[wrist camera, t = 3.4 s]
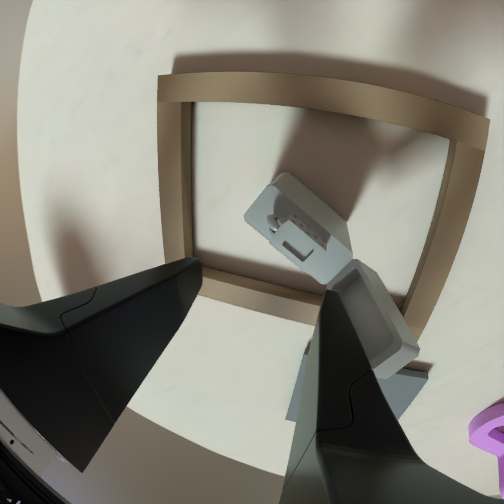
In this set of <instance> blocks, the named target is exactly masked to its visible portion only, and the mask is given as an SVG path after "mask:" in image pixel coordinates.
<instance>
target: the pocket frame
mask: <svg viewBox="0 0 504 504" xmlns="http://www.w3.org/2000/svg"><path fill="white" fill-rule="evenodd" d="M191 102H239V103H256V104H270V105H281V106H291V107H300V108H308V109H316V110H323V111H330V112H336V113H342V114H348V115H354V116H359V117H364V118H369V119H374V120H379V121H384V122H388V123H393V124H397V125H401V126H405V127H409V128H413V129H417V130H421V131H424V132H428V133H431V134H435V135H438V136H442V137H445V138H448V139H451V141H450V147H449V153H448V158H447V163H446V168H445V172H444V177H443V181H442V186H441V190H440V194H439V198H438V202H437V206H436V209H435V213H434V217H433V220H432V224H431V227H430V230H429V234H428V237H427V240H426V243H425V247H424V250H423V253H422V256H421V259H420V261H419V264H418V267H417V270H416V273H415V276H414V278H413V281H412V284H411V286H410V289H409V291H408V294H407V297H406V299H405V302H404V304H403V306H402V309H401V311H400V313H401V315H402V316H403V318H404V320H405V322H406V324H407V325H408V327H409V329H410V331H411V333H412V335H413V336H414V338H415V340H416V342H417V341H418V339H419V337H420V335H421V334H422V332H423V330H424V328H425V326H426V324H427V322H428V320H429V317H430V315H431V313H432V311H433V309H434V307H435V305H436V303H437V300H438V298H439V296H440V294H441V291H442V289H443V287H444V284H445V282H446V279H447V277H448V275H449V272H450V270H451V267H452V264H453V262H454V259H455V256H456V254H457V251H458V248H459V245H460V242H461V240H462V237H463V234H464V231H465V227H466V224H467V221H468V218H469V215H470V211H471V208H472V204H473V201H474V197H475V193H476V189H477V185H478V181H479V177H480V173H481V168H482V163H483V159H484V154H485V148H486V143H487V137H488V130H489V124H490V119H488V118H485V117H483V116H480V115H477V114H475V113H472V112H469V111H466V110H464V109H461V108H458V107H455V106H452V105H449V104H446V103H442V102H439V101H436V100H432V99H429V98H425V97H422V96H418V95H414V94H410V93H406V92H402V91H398V90H394V89H389V88H385V87H380V86H375V85H370V84H364V83H359V82H353V81H347V80H340V79H333V78H326V77H317V76H308V75H297V74H285V73H268V72H199V73H182V74H169V75H159V76H158V90H157V142H158V173H159V193H160V209H161V223H162V235H163V246H164V256H165V264H167V263H170V262H173V261H177V260H180V259H183V258H186V257H193V243H192V215H191ZM202 273H203V283H202V287H201V289H200V291H199V293H198V295H200V296H204V297H207V298H211V299H214V300H218V301H221V302H225V303H228V304H232V305H235V306H239V307H243V308H246V309H250V310H254V311H257V312H261V313H265V314H269V315H273V316H276V317H280V318H284V319H288V320H292V321H296V322H300V323H304V324H308V325H313V326H315V325H316V321H317V317H318V313H319V309H320V306H321V302H322V298H323V296H321V295H317V294H312V293H308V292H304V291H299V290H295V289H291V288H287V287H283V286H279V285H274V284H270V283H266V282H262V281H258V280H254V279H250V278H246V277H242V276H238V275H234V274H230V273H226V272H222V271H218V270H214V269H210V268H206V267H202Z"/></svg>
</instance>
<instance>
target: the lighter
mask: <svg viewBox="0 0 504 504" xmlns="http://www.w3.org/2000/svg"><path fill="white" fill-rule="evenodd" d="M244 219H245V222H247V223H248V224H249V225H250V226H251V227H253V228H254V229H255V230H256V231H258V232H259V233H260V234H261V235H262V236H264V237H265V238H266V239H267V240H269V241H270V242H269V243H270V244H271V245H272V246H273V247H275V248H276V249H277V250H278V251H279V252H281V253H282V254H283V255H284V256H285V257H287V258H288V259H289V260H290V261H291V262H293V263H294V264H295V265H296V266H298V267H299V268H300V269H301V270H302V271H304V272H305V273H308V274H310V275H311V276H312V277H313V278H314V279H316V280H317V281H318V282H319V283H320V284H327V286H326V289H329V290H333V291H337V292H339V294H340V296H341V298H342V300H343V303H344V305H345V307H346V309H347V311H348V313H349V316H350V318H351V320H352V322H353V325H354V327H355V329H356V331H357V334H358V336H359V338H360V340H361V343H362V345H363V347H364V350H365V352H366V354H367V357H368V359H369V361H370V364H371V366H372V370H373V371H374V373H375V376H376V378H381V379H387V378H389V377H390V376H391V375H393V374H394V373H396V372H397V371H398V370H400V369H401V368H403V367H404V366H405V365H407V364H408V363H409V362H411V361H412V360H413V359H415V358H416V357H417V356H418V354H419V350H420V348H419V346H418V344H417V342H416V340H415V338H414V336H413V335H412V333H411V331H410V329H409V327H408V325H407V324H406V322H405V320H404V318H403V316H402V315H401V313H400V311H399V309H398V308H397V306H396V304H395V302H394V301H393V299H392V297H391V296H390V294H389V292H388V290H387V289H386V287H385V285H384V284H383V282H382V280H381V279H380V277H379V276H378V274H377V272H375V271H374V270H372V269H371V268H370V267H368V266H367V265H365V264H364V263H362V262H361V261H359V260H358V259H353V253H352V248H351V243H350V238H349V233H348V228H347V223H346V221H345V220H344V219H343V218H342V217H341V216H340V215H338V214H337V213H336V212H335V211H334V210H333V209H332V208H331V207H329V206H328V205H327V204H326V203H325V202H324V201H323V200H321V199H320V198H319V197H318V196H317V195H316V194H314V193H313V192H312V191H311V190H310V189H308V188H307V187H306V186H305V185H304V184H303V183H301V182H300V181H299V180H298V179H297V178H295V177H294V176H293V175H292V174H290V173H289V172H288V171H287V172H282V173H281V174H280V175H279V176H278V177H277V178H275V179H274V180H273V181H272V182H271V183H270V184H269V185H268V186H266V188H265V189H264V190H263V191H262V193H261V194H260V195H259V196H258V198H257V199H256V200H255V201H254V203H253V204H252V205H251V206H250V208H249V209H248V210H247V211H246V213H245V214H244ZM326 289H325V290H326Z"/></svg>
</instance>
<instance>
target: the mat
mask: <svg viewBox="0 0 504 504" xmlns="http://www.w3.org/2000/svg"><path fill="white" fill-rule="evenodd" d="M308 352H309V349H308V348H305V352H304V355H303V359H302V362H301V366H300V370H299V374H298V377H297V381H296V384H295V388H294V391H293V395H292V398H291V402H290V405H289V408H288V412H287V415H286V418H285V419H286V420H290V421H294V422H296V420H297V415H298V409H299V403H300V397H301V391H302V385H303V379H304V372H305V366H306V360H307V356H308ZM377 380H378V383H379V385H380V387H381V389H382V392H383V394H384V396H385V398H386V400H387V402H388V403H389V405H390V407H391V409H392V411H393V413H394V415H395V416H396V418H397V420H398V419H399V418H400V417H401V415H402V414H403V413H404V412H405V410H406V409H407V408H408V406H409V405H410V404H411V402H412V401H413V400H414V398H415V397H416V396H417V394H418V393H419V392H420V390H421V389H422V387H423V386H424V385H425V383H426V382H427V380H428V373H427V372H420V371H414V370H408V369H403V368H401V369H400V370H398V371H397V372H396V373H394V374H393V375H391V376H390V377H389V378H387V379H381V378H377Z"/></svg>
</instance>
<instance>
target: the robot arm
mask: <svg viewBox="0 0 504 504" xmlns="http://www.w3.org/2000/svg"><path fill="white" fill-rule="evenodd" d="M202 283H203V273H202V261H201V260H200V259H198V258H194V257H186V258H183V259H180V260H177V261H173V262H170V263H167V264H164V265H161V266H158V267H155V268H152V269H148V270H145V271H142V272H139V273H136V274H133V275H130V276H127V277H124V278H121V279H118V280H115V281H112V282H109V283H105V284H102V285H99V286H98V287H93V288H90V289H87V290H84V291H81V292H78V293H74V294H71V295H67V296H64V297H60V298H56V299H52V300H49V301H45V302H41V303H37V304H33V305H30V306H25V307H13V306H8V305H5V304H2V303H0V504H16V503H17V502H18V501H21V502H20V504H71V503H70V502H69V501H68V500H66V499H65V498H64V497H63V496H61V495H60V494H59V493H58V492H57V491H55V490H54V489H53V488H52V487H51V486H49V485H48V484H47V483H46V482H45V481H44V480H43V479H42V478H41V477H40V476H41V475H42V474H43V472H44V471H45V470H46V469H47V467H48V466H49V465H50V463H51V462H52V461H53V460H54V459H55V457H56V456H57V455H59V456H60V457H61V458H63V459H64V460H65V461H66V462H68V463H69V464H70V465H71V466H73V467H74V468H75V469H77V470H78V471H79V472H81V473H82V472H83V471H84V470H85V469H86V467H87V466H88V464H89V463H90V461H91V459H92V458H93V456H94V455H95V453H96V452H97V450H98V449H99V447H100V446H101V444H102V443H103V441H104V439H105V438H106V436H107V435H108V433H109V432H110V430H111V429H112V427H113V426H114V424H115V422H116V421H117V419H118V418H119V416H120V415H121V413H122V412H123V410H124V409H125V407H126V406H127V404H128V403H129V401H130V400H131V398H132V397H133V395H134V394H135V392H136V391H137V389H138V388H139V386H140V385H141V383H142V382H143V381H144V379H145V378H146V376H147V375H148V373H149V372H150V370H151V369H152V367H153V366H154V364H155V363H156V361H157V360H158V358H159V357H160V355H161V354H162V352H163V351H164V349H165V348H166V347H167V345H168V344H169V342H170V341H171V339H172V338H173V336H174V335H175V333H176V332H177V330H178V329H179V327H180V326H181V324H182V323H183V321H184V319H185V317H186V316H187V314H188V312H189V310H190V308H191V306H192V304H193V302H194V300H195V298H196V297H197V295H198V293H199V291H200V289H201V287H202ZM279 504H504V499H497V498H492V497H488V496H486V495H483V494H481V493H479V492H477V491H475V490H473V489H471V488H469V487H467V486H465V485H463V484H461V483H459V482H457V481H456V480H454V479H452V478H450V477H448V476H446V475H444V474H443V473H441V472H439V471H437V470H436V469H434V468H432V467H430V466H429V465H427V464H426V463H425V462H424V461H422V459H421V458H420V457H419V456H418V455H417V454H416V452H415V451H414V449H413V447H412V446H411V444H410V442H409V440H408V438H407V437H406V435H405V433H404V431H403V429H402V427H401V426H400V424H399V422H398V420H397V418H396V416H395V415H394V413H393V411H392V409H391V407H390V405H389V403H388V402H387V400H386V398H385V396H384V394H383V392H382V389H381V387H380V385H379V383H378V380H377V378H376V376H375V373H374V371H373V370H372V366H371V364H370V361H369V359H368V357H367V354H366V352H365V350H364V347H363V345H362V343H361V340H360V338H359V336H358V334H357V331H356V329H355V327H354V325H353V322H352V320H351V318H350V316H349V313H348V311H347V309H346V307H345V305H344V303H343V300H342V298H341V296H340V294H339V292H337V291H333V290H329V289H326V290H325V291H324V294H323V298H322V302H321V306H320V309H319V313H318V317H317V321H316V325H315V329H314V333H313V337H312V341H311V345H310V348H309V352H308V356H307V360H306V366H305V372H304V379H303V385H302V391H301V397H300V403H299V409H298V415H297V420H296V426H295V431H294V436H293V442H292V447H291V452H290V456H289V461H288V466H287V471H286V475H285V480H284V484H283V489H282V493H281V497H280V501H279Z"/></svg>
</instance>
